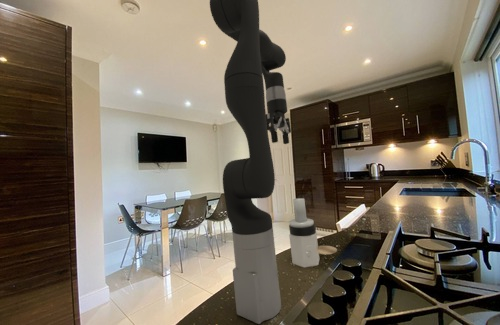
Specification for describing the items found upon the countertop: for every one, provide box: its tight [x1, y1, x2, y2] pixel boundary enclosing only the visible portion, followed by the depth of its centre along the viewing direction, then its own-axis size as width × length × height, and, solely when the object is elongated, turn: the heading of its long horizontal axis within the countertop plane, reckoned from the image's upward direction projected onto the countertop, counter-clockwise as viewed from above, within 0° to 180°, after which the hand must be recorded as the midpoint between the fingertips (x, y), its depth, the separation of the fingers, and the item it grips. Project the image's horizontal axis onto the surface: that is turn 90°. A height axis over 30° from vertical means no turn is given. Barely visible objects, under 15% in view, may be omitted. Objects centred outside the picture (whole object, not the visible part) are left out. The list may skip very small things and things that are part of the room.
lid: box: [288, 197, 315, 228], centre depth 67 cm, size 8×8×8 cm
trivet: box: [318, 245, 338, 255], centre depth 73 cm, size 8×8×1 cm
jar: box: [288, 223, 320, 268], centre depth 66 cm, size 9×8×12 cm
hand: (280, 143), depth 78 cm, fingers open, 8 cm apart
